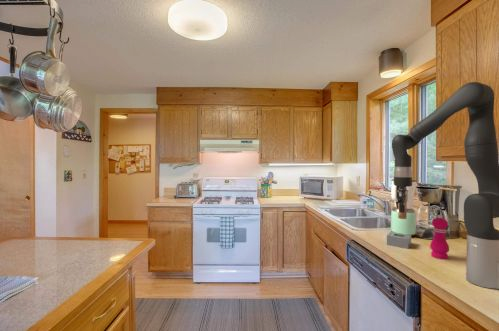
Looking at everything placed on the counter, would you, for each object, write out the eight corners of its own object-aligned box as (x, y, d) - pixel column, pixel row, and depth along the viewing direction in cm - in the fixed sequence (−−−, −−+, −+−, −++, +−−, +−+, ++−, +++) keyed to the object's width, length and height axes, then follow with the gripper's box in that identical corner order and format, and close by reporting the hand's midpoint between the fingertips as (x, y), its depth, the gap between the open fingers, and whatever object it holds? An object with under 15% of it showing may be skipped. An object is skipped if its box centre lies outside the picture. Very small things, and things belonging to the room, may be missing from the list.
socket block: (411, 244, 137) (411, 235, 137) (408, 248, 129) (408, 239, 129) (390, 240, 143) (390, 231, 143) (386, 244, 136) (386, 235, 136)
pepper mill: (434, 258, 116) (435, 215, 116) (427, 253, 123) (427, 212, 123) (452, 260, 114) (453, 216, 114) (444, 254, 121) (444, 213, 121)
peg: (407, 218, 121) (407, 197, 121) (405, 219, 118) (406, 198, 118) (398, 217, 123) (399, 196, 123) (397, 218, 120) (397, 197, 120)
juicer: (399, 230, 165) (400, 177, 164) (421, 235, 153) (422, 179, 152) (382, 234, 155) (383, 178, 155) (404, 240, 144) (405, 179, 143)
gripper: (409, 177, 113) (409, 215, 113) (414, 176, 123) (413, 210, 123) (390, 176, 117) (390, 212, 117) (396, 175, 128) (396, 209, 128)
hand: (402, 211), depth 120 cm, fingers closed on peg, 3 cm apart
